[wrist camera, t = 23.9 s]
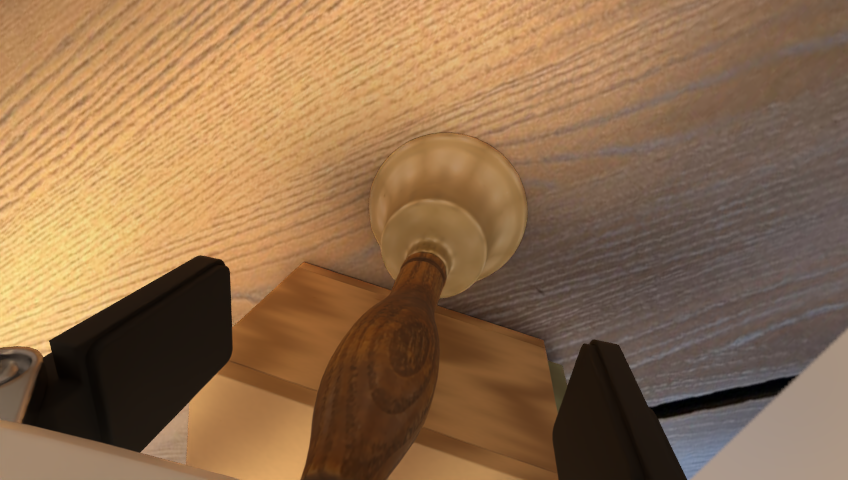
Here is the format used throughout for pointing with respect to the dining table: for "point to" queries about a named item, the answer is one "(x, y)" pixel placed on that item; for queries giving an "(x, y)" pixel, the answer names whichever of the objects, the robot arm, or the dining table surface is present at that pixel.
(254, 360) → the cabinet
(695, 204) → the dining table surface
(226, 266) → the robot arm
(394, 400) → the hand bell
